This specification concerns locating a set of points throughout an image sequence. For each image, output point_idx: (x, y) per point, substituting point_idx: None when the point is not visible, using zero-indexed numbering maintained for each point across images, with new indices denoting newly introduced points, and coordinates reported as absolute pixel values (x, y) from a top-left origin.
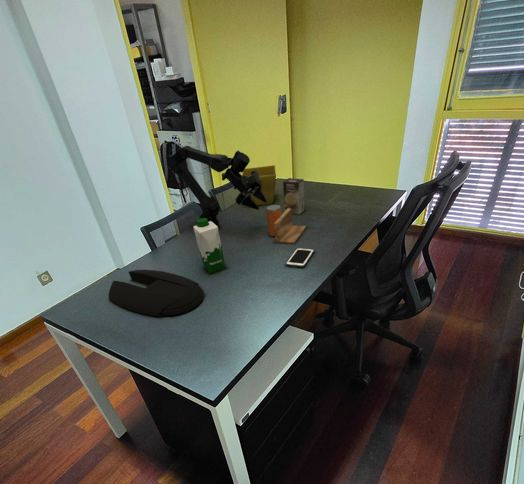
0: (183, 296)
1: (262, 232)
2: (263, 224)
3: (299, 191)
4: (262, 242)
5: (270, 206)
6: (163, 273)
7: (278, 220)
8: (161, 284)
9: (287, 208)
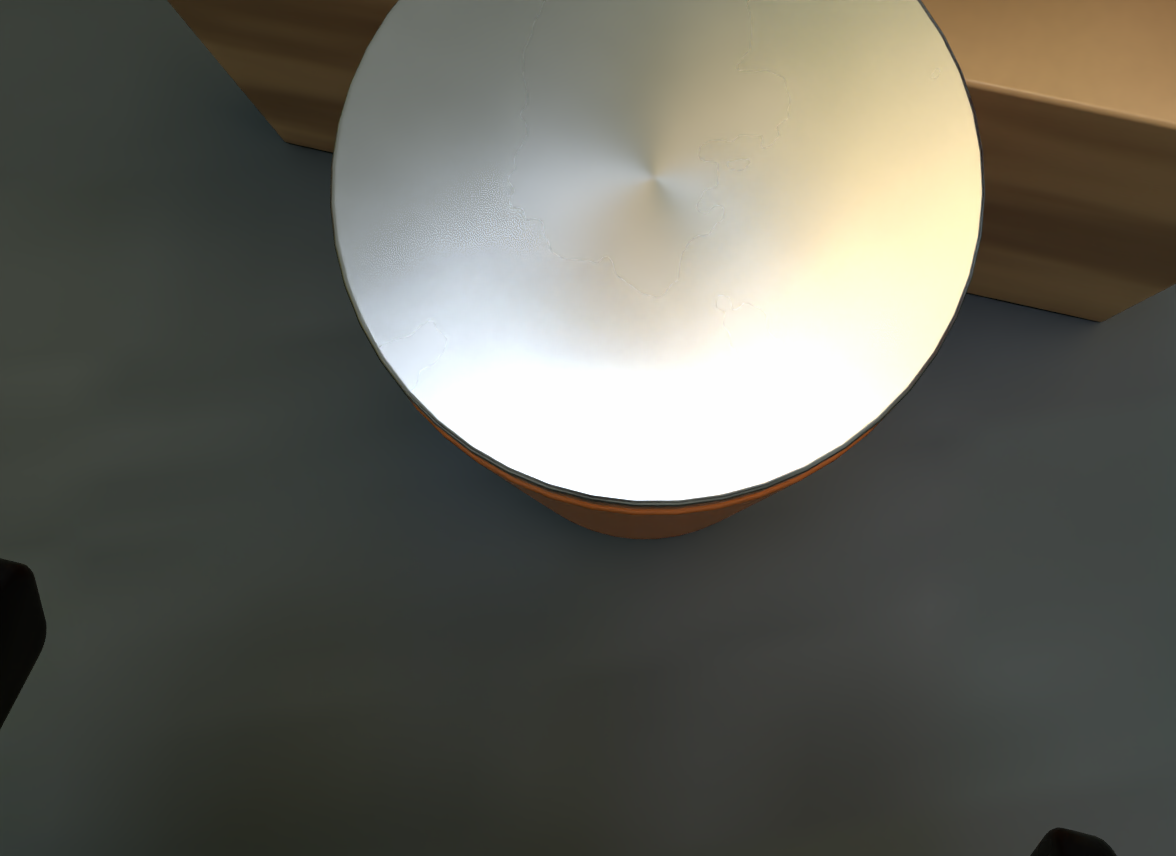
0: None
1: (525, 715)
2: (49, 763)
3: None
4: (1079, 631)
5: (501, 331)
6: None
7: (1143, 58)
8: None
9: None
